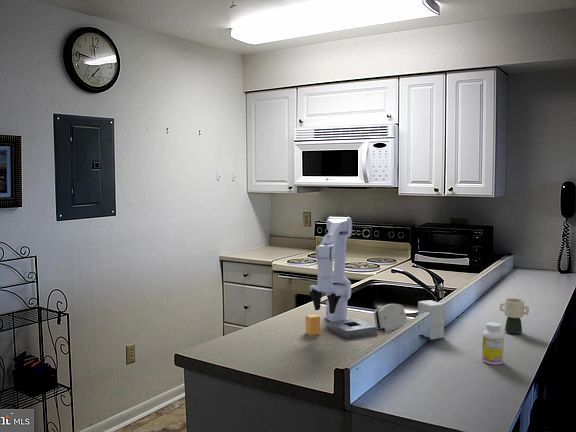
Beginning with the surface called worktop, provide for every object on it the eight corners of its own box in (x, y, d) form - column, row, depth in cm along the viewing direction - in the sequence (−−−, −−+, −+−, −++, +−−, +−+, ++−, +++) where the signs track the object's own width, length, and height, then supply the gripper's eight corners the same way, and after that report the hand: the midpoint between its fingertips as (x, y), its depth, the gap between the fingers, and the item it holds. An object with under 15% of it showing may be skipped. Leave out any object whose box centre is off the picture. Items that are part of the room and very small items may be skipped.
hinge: (385, 331, 218) (379, 306, 220) (376, 333, 222) (370, 308, 223) (411, 324, 229) (405, 300, 231) (402, 325, 233) (396, 302, 234)
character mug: (530, 333, 216) (531, 300, 215) (525, 337, 211) (526, 303, 209) (502, 328, 223) (503, 296, 222) (496, 332, 217) (497, 299, 216)
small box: (444, 337, 210) (444, 304, 209) (430, 339, 208) (431, 305, 207) (429, 332, 218) (430, 299, 217) (417, 334, 215) (417, 301, 214)
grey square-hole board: (327, 329, 221) (327, 322, 221) (357, 325, 228) (357, 318, 227) (346, 338, 209) (346, 331, 209) (377, 334, 215) (377, 326, 215)
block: (305, 332, 217) (305, 315, 216) (314, 331, 219) (314, 314, 218) (310, 335, 213) (310, 317, 213) (319, 334, 215) (319, 316, 215)
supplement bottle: (486, 357, 188) (487, 320, 187) (506, 361, 184) (507, 323, 183) (479, 362, 183) (480, 324, 182) (499, 366, 179) (500, 327, 178)
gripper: (304, 275, 214) (303, 309, 214) (332, 280, 203) (331, 316, 204) (316, 273, 218) (316, 307, 219) (344, 277, 208) (344, 313, 209)
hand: (324, 311), depth 212 cm, fingers open, 7 cm apart
